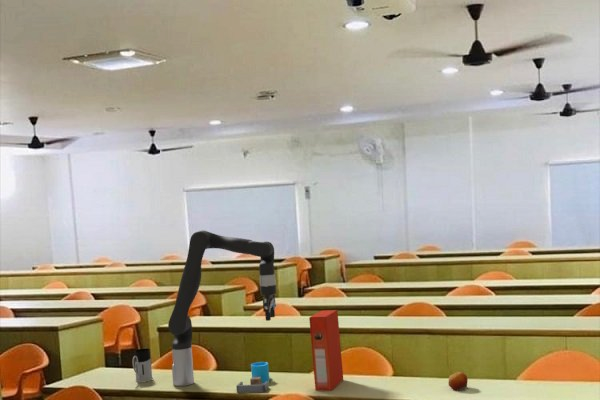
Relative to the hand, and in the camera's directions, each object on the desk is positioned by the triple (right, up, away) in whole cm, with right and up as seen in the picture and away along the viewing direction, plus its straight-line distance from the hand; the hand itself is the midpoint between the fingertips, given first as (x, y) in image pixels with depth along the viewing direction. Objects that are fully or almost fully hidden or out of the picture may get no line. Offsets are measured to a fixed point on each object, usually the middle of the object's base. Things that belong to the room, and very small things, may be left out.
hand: (270, 318), depth 304 cm
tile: (-6, -30, -7) cm, 31 cm away
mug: (-4, -30, +4) cm, 31 cm away
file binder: (+27, -27, -14) cm, 41 cm away
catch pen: (-7, -30, -13) cm, 33 cm away
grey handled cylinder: (-65, -35, +19) cm, 76 cm away
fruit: (+80, -23, -35) cm, 90 cm away
